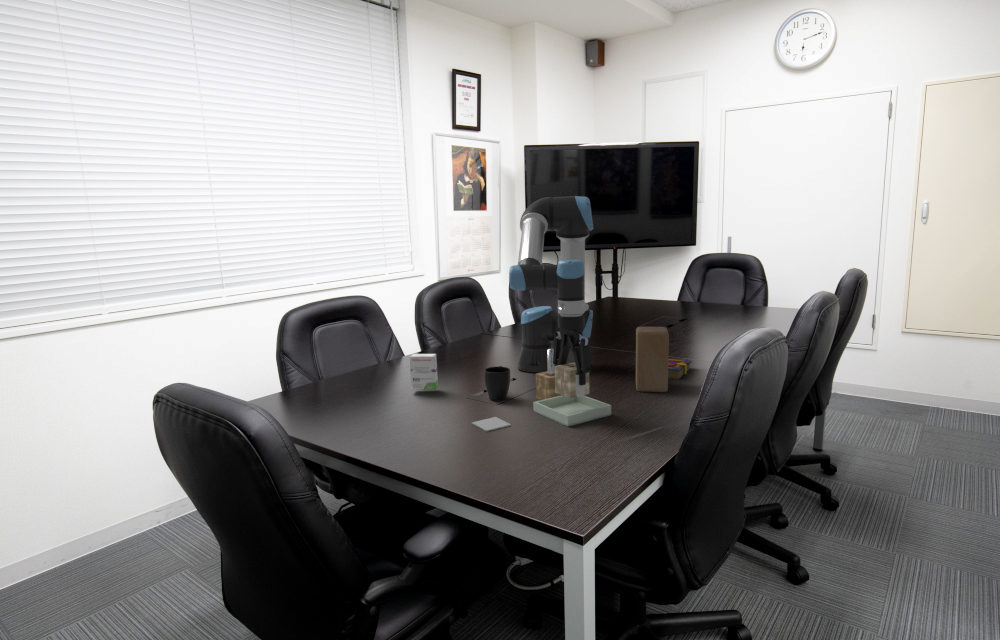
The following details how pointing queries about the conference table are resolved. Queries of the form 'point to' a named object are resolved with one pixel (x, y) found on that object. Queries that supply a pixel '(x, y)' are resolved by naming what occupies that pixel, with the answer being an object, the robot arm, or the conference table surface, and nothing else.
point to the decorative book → (678, 368)
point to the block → (652, 359)
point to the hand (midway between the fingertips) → (571, 392)
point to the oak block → (545, 386)
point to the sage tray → (572, 409)
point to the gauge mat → (491, 424)
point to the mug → (497, 382)
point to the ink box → (423, 372)
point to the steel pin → (550, 362)
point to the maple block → (568, 380)
